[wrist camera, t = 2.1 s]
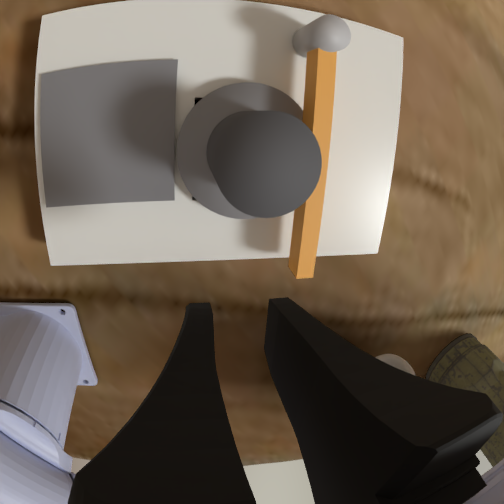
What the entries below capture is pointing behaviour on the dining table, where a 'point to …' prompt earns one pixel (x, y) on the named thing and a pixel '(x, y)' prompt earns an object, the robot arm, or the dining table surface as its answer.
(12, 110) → the dining table surface
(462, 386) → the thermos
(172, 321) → the dining table surface
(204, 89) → the socket board
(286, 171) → the plug
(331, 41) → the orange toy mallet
